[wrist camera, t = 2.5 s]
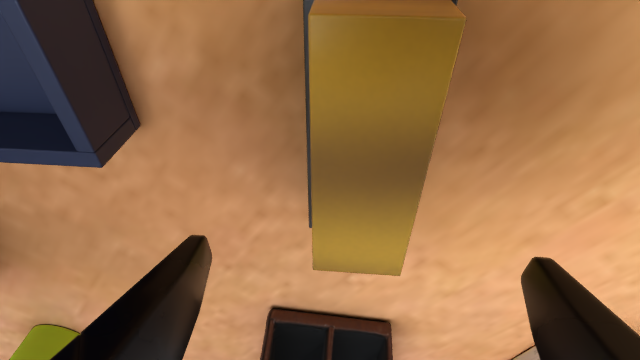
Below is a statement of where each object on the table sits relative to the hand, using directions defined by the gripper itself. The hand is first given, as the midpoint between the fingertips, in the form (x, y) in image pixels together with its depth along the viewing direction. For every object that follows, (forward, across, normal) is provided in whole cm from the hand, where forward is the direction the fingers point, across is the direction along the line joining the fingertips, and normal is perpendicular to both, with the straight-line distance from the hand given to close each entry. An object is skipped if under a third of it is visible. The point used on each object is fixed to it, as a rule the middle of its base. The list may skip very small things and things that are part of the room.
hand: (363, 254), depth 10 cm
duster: (+8, 0, 0) cm, 8 cm away
